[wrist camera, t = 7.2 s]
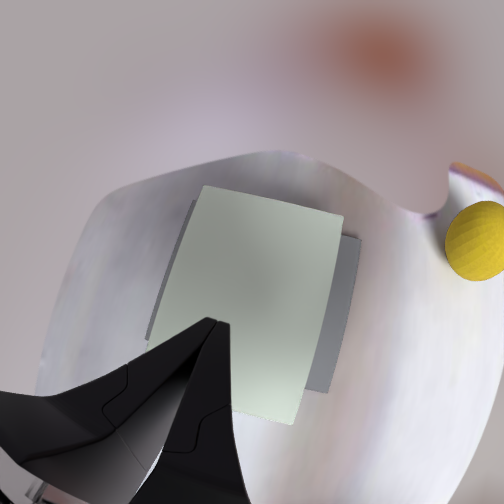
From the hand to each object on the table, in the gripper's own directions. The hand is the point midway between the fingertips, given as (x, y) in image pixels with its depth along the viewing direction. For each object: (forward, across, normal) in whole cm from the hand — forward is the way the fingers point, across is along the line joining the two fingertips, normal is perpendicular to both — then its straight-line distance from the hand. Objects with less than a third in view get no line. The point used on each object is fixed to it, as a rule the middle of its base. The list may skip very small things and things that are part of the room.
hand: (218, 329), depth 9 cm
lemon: (+14, -16, 0) cm, 21 cm away
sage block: (+2, 0, +7) cm, 8 cm away
